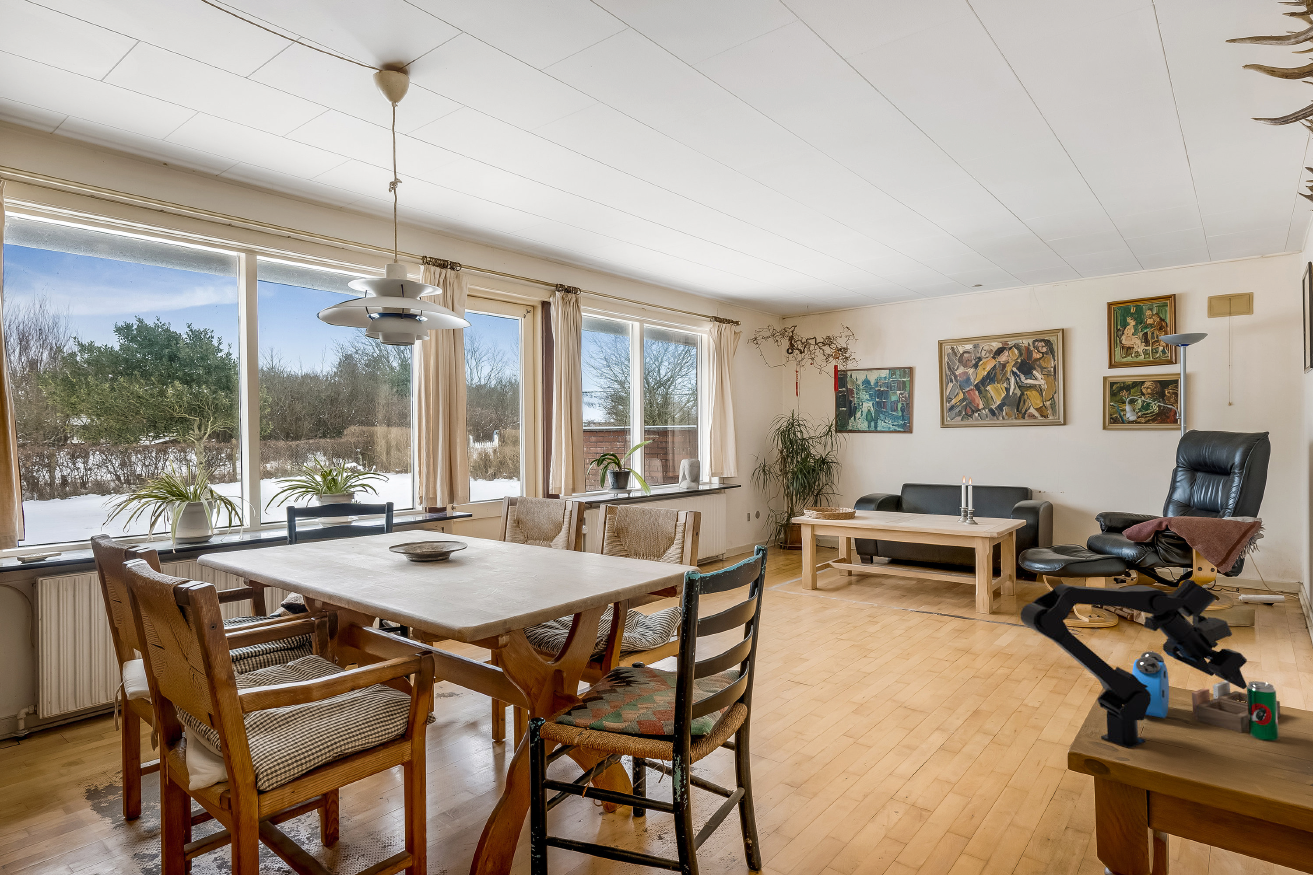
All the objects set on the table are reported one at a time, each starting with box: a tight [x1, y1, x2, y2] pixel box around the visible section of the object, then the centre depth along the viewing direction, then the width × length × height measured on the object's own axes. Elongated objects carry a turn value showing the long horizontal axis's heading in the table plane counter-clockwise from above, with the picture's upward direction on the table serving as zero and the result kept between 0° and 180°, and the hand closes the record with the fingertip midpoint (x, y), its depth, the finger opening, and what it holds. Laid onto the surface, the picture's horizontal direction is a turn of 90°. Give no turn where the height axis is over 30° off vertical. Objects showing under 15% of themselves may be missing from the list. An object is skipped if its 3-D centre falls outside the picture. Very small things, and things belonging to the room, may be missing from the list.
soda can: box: [1246, 680, 1280, 742], centre depth 159 cm, size 5×5×12 cm
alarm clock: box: [1131, 650, 1170, 719], centre depth 174 cm, size 13×6×15 cm, turn 137°
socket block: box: [1191, 680, 1281, 733], centre depth 171 cm, size 19×10×6 cm, turn 117°
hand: (1228, 680), depth 159 cm, fingers open, 9 cm apart
